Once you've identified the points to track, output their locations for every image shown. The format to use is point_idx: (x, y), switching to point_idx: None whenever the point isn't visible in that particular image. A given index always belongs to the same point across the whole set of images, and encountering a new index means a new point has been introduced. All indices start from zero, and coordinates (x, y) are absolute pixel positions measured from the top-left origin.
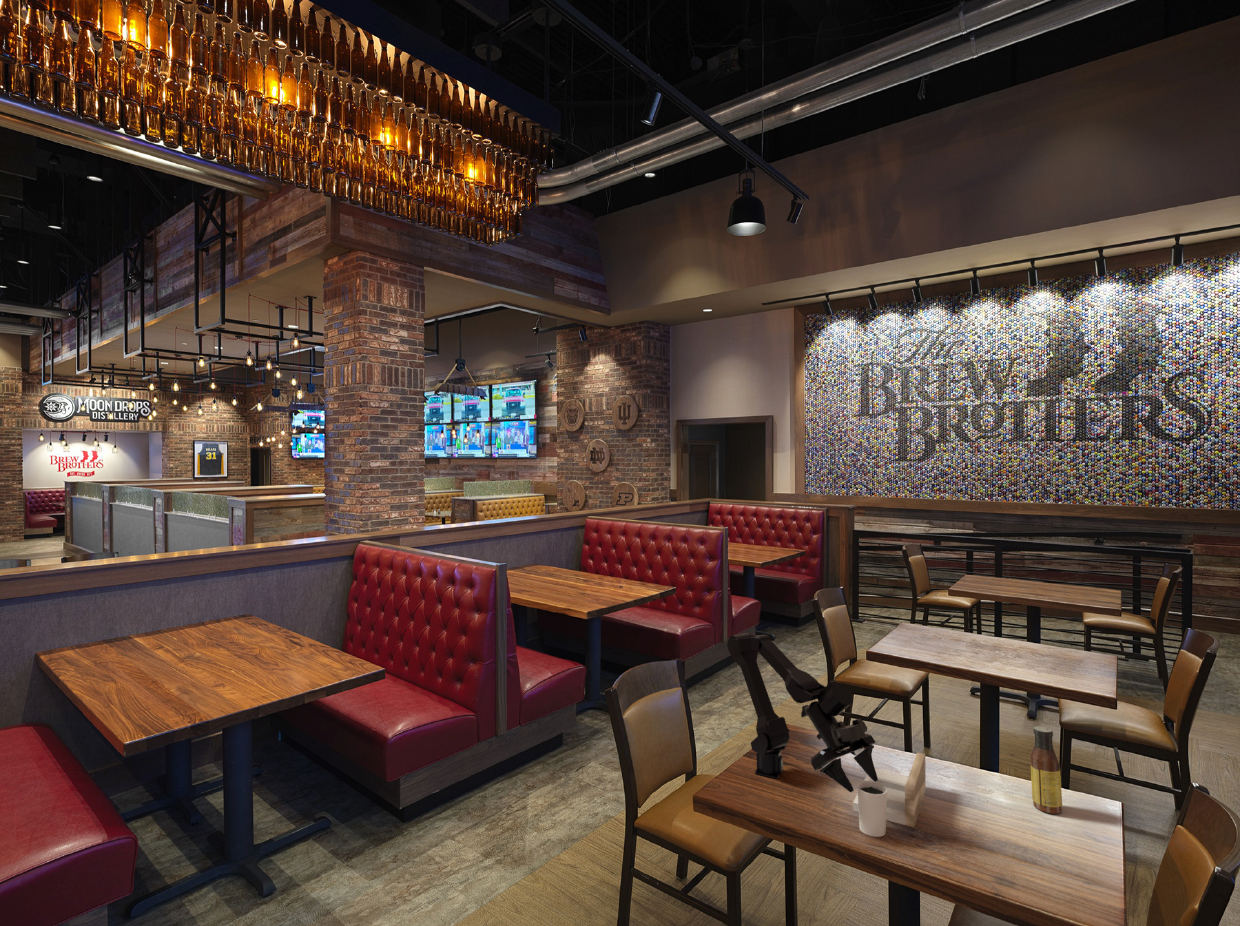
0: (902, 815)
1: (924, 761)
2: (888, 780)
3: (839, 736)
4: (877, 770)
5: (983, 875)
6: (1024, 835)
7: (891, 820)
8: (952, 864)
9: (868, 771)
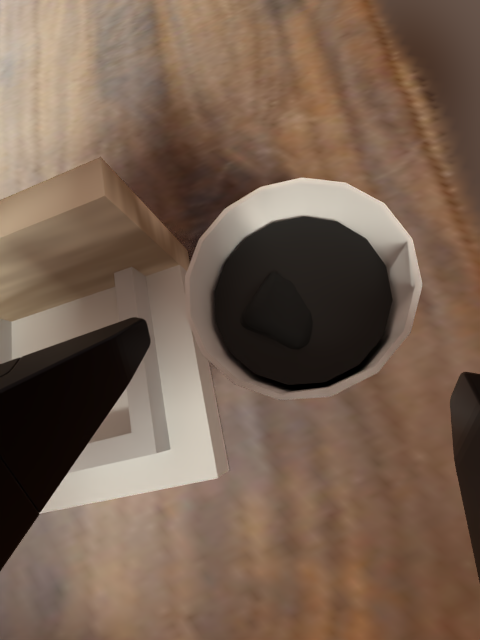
0: (176, 275)
1: None
2: None
3: None
4: None
5: (294, 30)
6: (49, 79)
7: None
8: (307, 90)
9: (98, 395)
